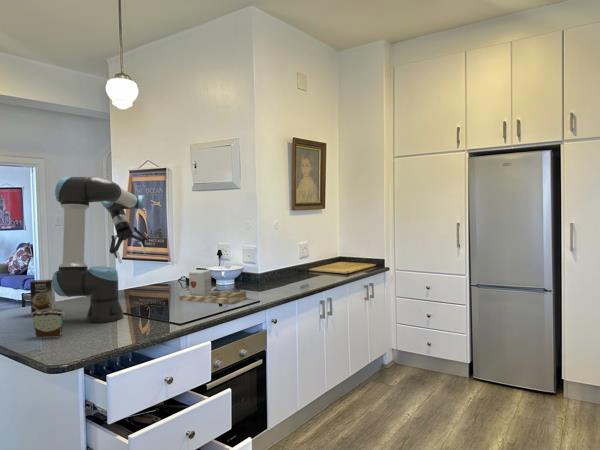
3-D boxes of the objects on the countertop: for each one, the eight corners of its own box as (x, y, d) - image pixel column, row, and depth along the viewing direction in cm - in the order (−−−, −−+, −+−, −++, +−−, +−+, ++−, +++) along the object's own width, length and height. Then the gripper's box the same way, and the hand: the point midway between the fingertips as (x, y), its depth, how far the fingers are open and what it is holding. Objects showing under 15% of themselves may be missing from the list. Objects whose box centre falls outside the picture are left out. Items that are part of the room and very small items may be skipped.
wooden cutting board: (179, 300, 236) (179, 292, 236) (201, 293, 254) (201, 286, 254) (230, 304, 223) (230, 296, 223) (250, 296, 241) (249, 289, 241)
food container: (71, 332, 178) (70, 307, 178) (64, 336, 172) (63, 311, 172) (40, 333, 178) (39, 308, 177) (31, 337, 172) (30, 312, 171)
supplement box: (189, 299, 237) (188, 271, 236) (196, 296, 245) (196, 269, 245) (204, 300, 235) (203, 272, 234) (211, 296, 243) (211, 269, 243)
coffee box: (30, 316, 206) (29, 282, 206) (35, 313, 212) (33, 280, 212) (52, 314, 209) (51, 280, 208) (56, 311, 215) (54, 278, 214)
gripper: (145, 219, 253) (156, 250, 245) (102, 235, 248) (112, 268, 241) (141, 213, 246) (152, 246, 238) (96, 230, 241) (107, 264, 234)
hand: (132, 257), depth 240 cm, fingers open, 13 cm apart
